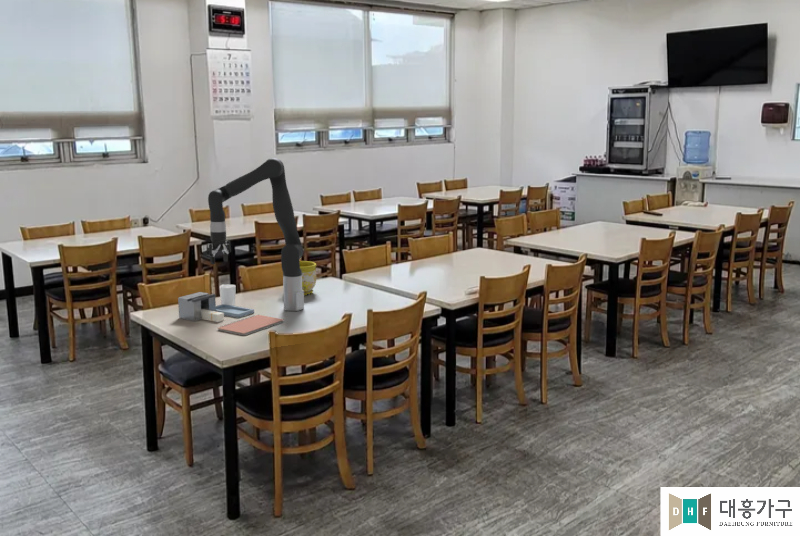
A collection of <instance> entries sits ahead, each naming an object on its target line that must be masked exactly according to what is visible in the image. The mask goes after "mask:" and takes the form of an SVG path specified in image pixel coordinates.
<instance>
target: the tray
mask: <svg viewBox="0 0 800 536" xmlns="http://www.w3.org/2000/svg"><path fill="white" fill-rule="evenodd" d="M216 312H221V313H224V316H226V317H227V316H228V317H232V318H236V319H239V318H244V317H245V316H249V315H253V314H254V313H255V309H253V308H248V307H242V306H236V305H234V306H232V305H227V304H219V305H216Z"/></svg>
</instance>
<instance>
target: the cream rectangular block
mask: <svg viewBox="0 0 800 536" xmlns="http://www.w3.org/2000/svg"><path fill="white" fill-rule="evenodd" d="M200 320H205V321H210V322H216V323H221V322H223V321H225V315H224V313H221V312H216V311H210V310H205V309H201V319H200Z"/></svg>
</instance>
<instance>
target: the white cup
mask: <svg viewBox="0 0 800 536" xmlns="http://www.w3.org/2000/svg"><path fill="white" fill-rule="evenodd" d="M236 289H237V287H236V284H231V283H230V284H221V285H219V295H220V303H221V304H227V305H232V306H236V293H237V292H236ZM221 304H220V305H221Z"/></svg>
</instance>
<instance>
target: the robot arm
mask: <svg viewBox="0 0 800 536" xmlns="http://www.w3.org/2000/svg"><path fill="white" fill-rule="evenodd" d="M285 170H286V169H285V165H284V163H283V161H282V160H281V159H279V158H276V157H271V158H268V159H267V160H266V161H264V162H263V163H262V164H261V165H259V166H257V167H256V168H255V169H253V170H251V171H250V172H248V173H246V174H244V175H242V176H241V175H240V176H239V177H238V178H235V179H234V180H231V181H229V182H228V183H227V184H225V185H223V186H221V187H219V188H216V189H214V190H212V191H210V192H209V194H208V197H207V199H208V200H207V202H208V207H209V208H208V209H209V213H210V214H209V215H210V216H209V217H210V218H209V220H210V221H209V222H210V225H209V229H210V230H209V231H210V232H209V234H210V240H211V243H206V257H207V256H208V257H209V261H210V262H209V263H210V264H211V265H215V264H216V259H215V258H216V257H215V256H216V254H217V253H218V252H220V251H221V252H222V253H223V255H222V256H223V257H222V258H223V262H224V263H225V262H227V263H228V262H229V254H230V253H231V252H232V243H231V240H228V239H227V225H226V213H225V210H224V206H223V203H224V202H226V201H228V200H229V199H231V198H232V197H236V196H238V195H240V194H242V193H244V192H245V191H247V190H249V189H250V188H252V187H253V186H255V185H257V184H259V183H260V182H263V181H265V180H269V181H270V185H271V189H272V190H271V192H272V194H271V195H272V207H273V208H272V209H273V212H274V217H275V220H276V222H277V224H278V226H279V228H280V230H281V232H282V233H283V238H284V243H285V245H284V246H283V247H282V248H281V252H280V253H281V254H280V261H281V262H280V263H281V264H280V265H281V270H282V278H283V279H282V285H283V286H282V289H283V293H282V294H283V295H282V296H283V310H284V311H288V312H298V311H301V310H304V309H305V296H304V290H302V270H301V269H300V261H301V260H300V259H302V257H303V254H304V248H303V245H302V242H301V239H300V238H301V237H300V235H299V232H298V228H297V224H296V223H297V222H296V221H297V220H296V217H295V213H294V207H293V203H292V200H291V196H290V193H289V189H288V186H287V180H286V171H285Z"/></svg>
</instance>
